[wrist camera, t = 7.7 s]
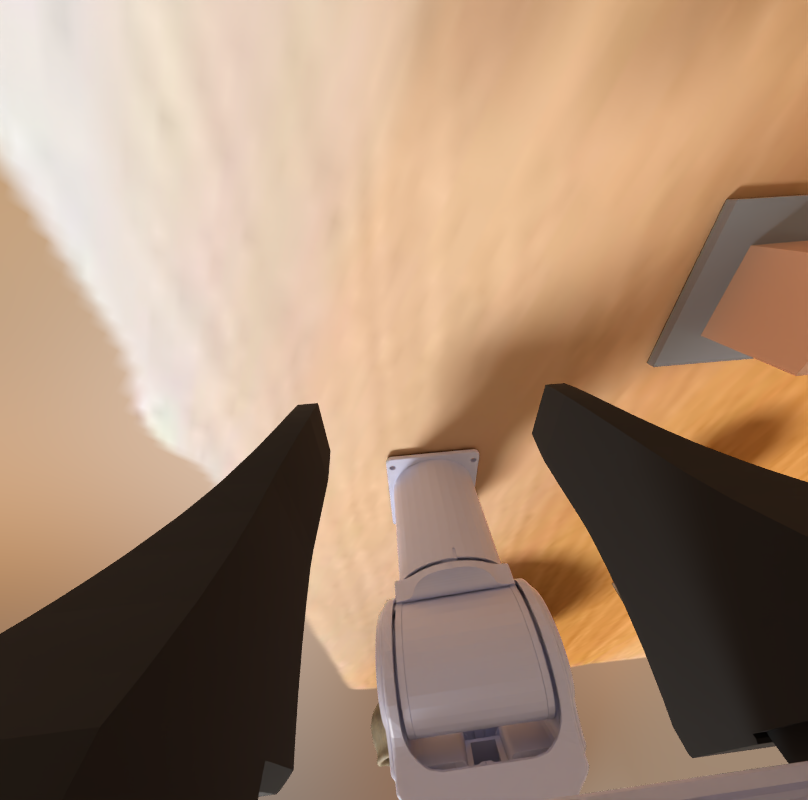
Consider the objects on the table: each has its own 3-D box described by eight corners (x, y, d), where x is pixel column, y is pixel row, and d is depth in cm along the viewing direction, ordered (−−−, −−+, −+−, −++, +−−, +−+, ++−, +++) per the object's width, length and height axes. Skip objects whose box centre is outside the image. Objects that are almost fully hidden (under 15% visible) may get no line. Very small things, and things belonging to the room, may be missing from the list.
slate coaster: (774, 352, 22) (783, 355, 22) (646, 363, 22) (653, 366, 21) (896, 189, 16) (912, 188, 16) (726, 199, 16) (737, 199, 15)
